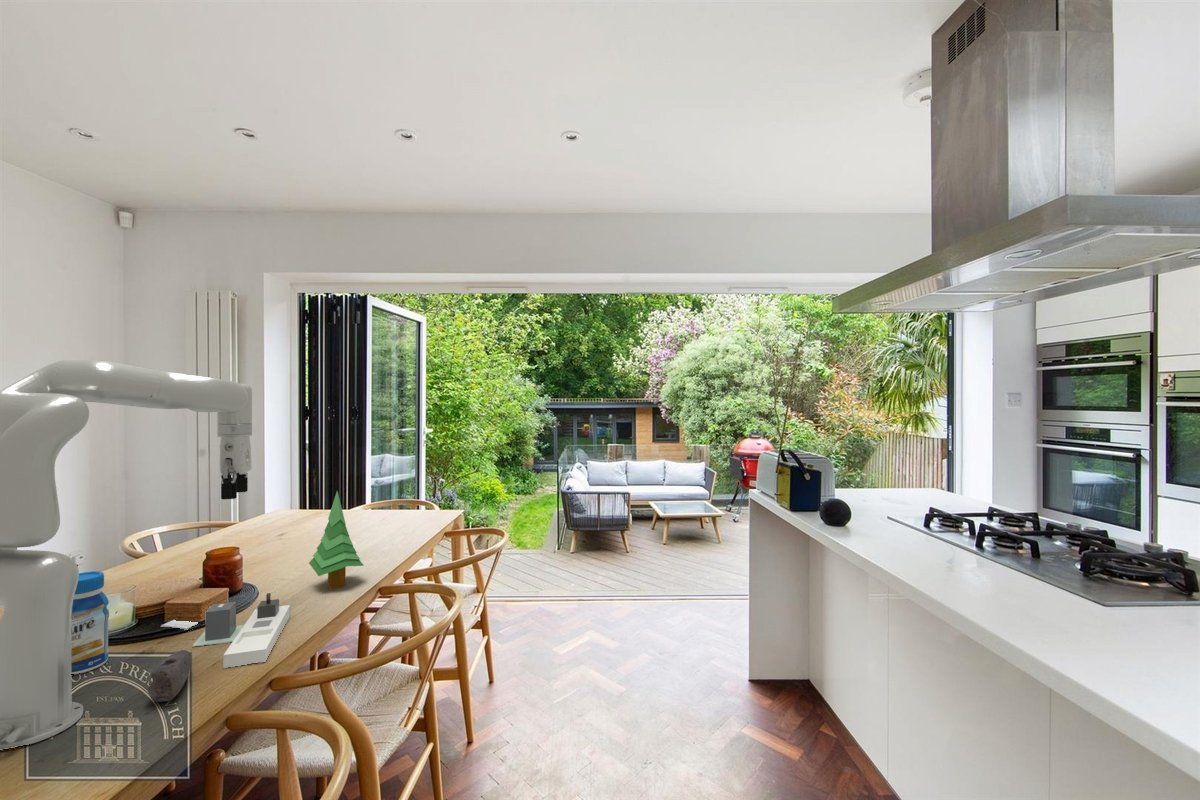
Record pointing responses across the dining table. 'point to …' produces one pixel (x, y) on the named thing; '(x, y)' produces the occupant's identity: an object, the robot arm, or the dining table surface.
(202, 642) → the mat
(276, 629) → the power strip
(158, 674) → the perforated stone tool
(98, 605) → the supplement bottle
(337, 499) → the decorative tree
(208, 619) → the charger
